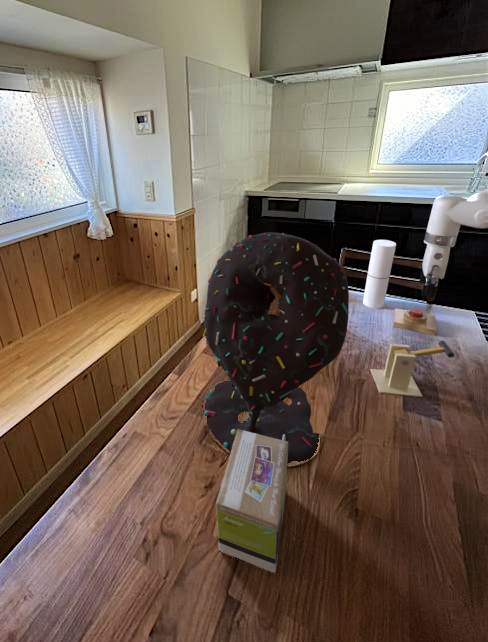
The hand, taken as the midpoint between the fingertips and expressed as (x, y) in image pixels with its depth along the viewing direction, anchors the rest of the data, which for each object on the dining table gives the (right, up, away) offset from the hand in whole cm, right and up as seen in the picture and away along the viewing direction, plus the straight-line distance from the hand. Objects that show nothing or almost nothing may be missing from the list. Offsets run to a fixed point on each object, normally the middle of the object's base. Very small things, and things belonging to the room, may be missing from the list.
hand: (426, 289), depth 106 cm
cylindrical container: (-4, -7, +24) cm, 25 cm away
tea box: (-63, -41, -43) cm, 87 cm away
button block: (+3, -12, +10) cm, 16 cm away
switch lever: (-15, -16, -20) cm, 30 cm away
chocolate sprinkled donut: (-57, -31, -20) cm, 67 cm away
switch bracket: (-19, -25, -15) cm, 35 cm away
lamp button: (+2, -9, +8) cm, 13 cm away
